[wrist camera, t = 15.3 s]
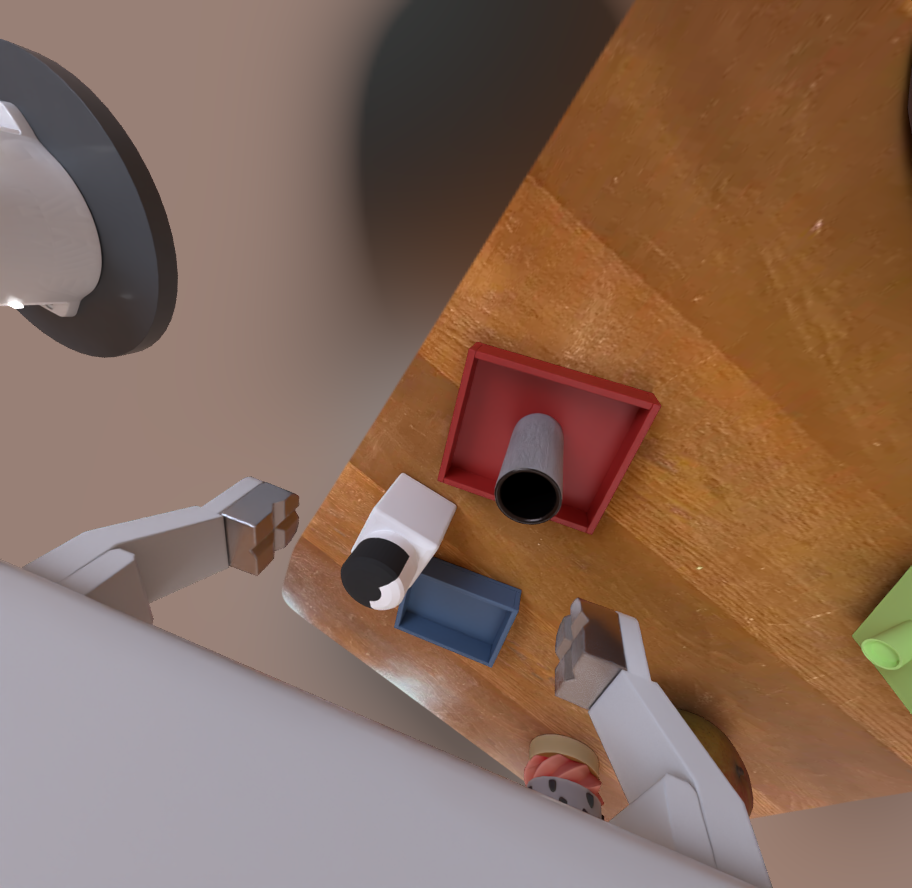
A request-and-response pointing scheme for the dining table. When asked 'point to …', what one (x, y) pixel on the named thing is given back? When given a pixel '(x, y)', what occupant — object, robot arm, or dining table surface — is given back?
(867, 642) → the green horned cube
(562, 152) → the dining table surface
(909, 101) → the plate
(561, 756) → the cake
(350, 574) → the medicine bottle
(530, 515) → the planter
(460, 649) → the blue tray
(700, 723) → the fruit
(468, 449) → the red tray
